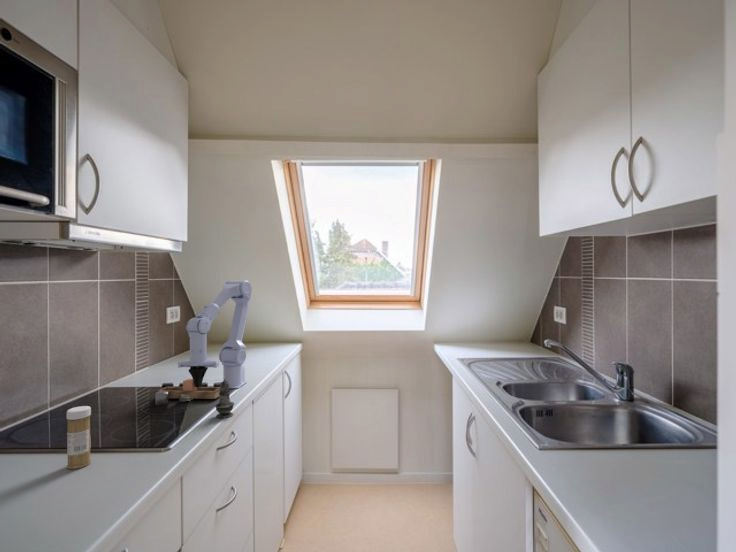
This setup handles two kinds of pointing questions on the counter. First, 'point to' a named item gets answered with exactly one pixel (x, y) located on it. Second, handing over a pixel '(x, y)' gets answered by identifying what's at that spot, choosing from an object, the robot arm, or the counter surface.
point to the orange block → (189, 385)
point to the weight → (161, 398)
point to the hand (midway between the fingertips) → (198, 386)
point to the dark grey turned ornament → (224, 401)
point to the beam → (192, 393)
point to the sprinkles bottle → (78, 437)
